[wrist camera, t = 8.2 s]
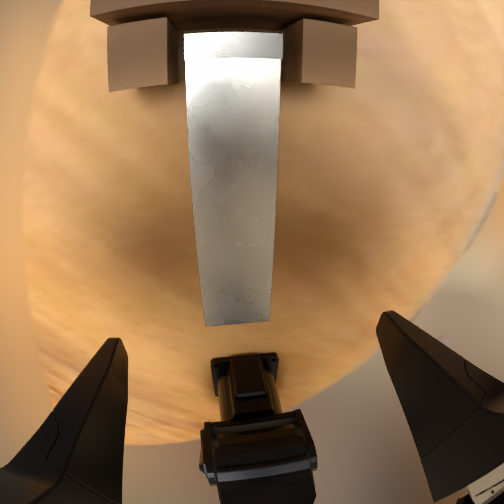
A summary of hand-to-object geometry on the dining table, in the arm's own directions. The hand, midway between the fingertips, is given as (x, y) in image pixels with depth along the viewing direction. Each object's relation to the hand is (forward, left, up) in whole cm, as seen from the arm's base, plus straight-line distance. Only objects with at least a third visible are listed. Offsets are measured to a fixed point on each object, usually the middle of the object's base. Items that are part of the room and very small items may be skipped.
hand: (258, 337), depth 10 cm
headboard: (+9, 0, -12) cm, 15 cm away
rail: (+2, 0, -12) cm, 12 cm away
